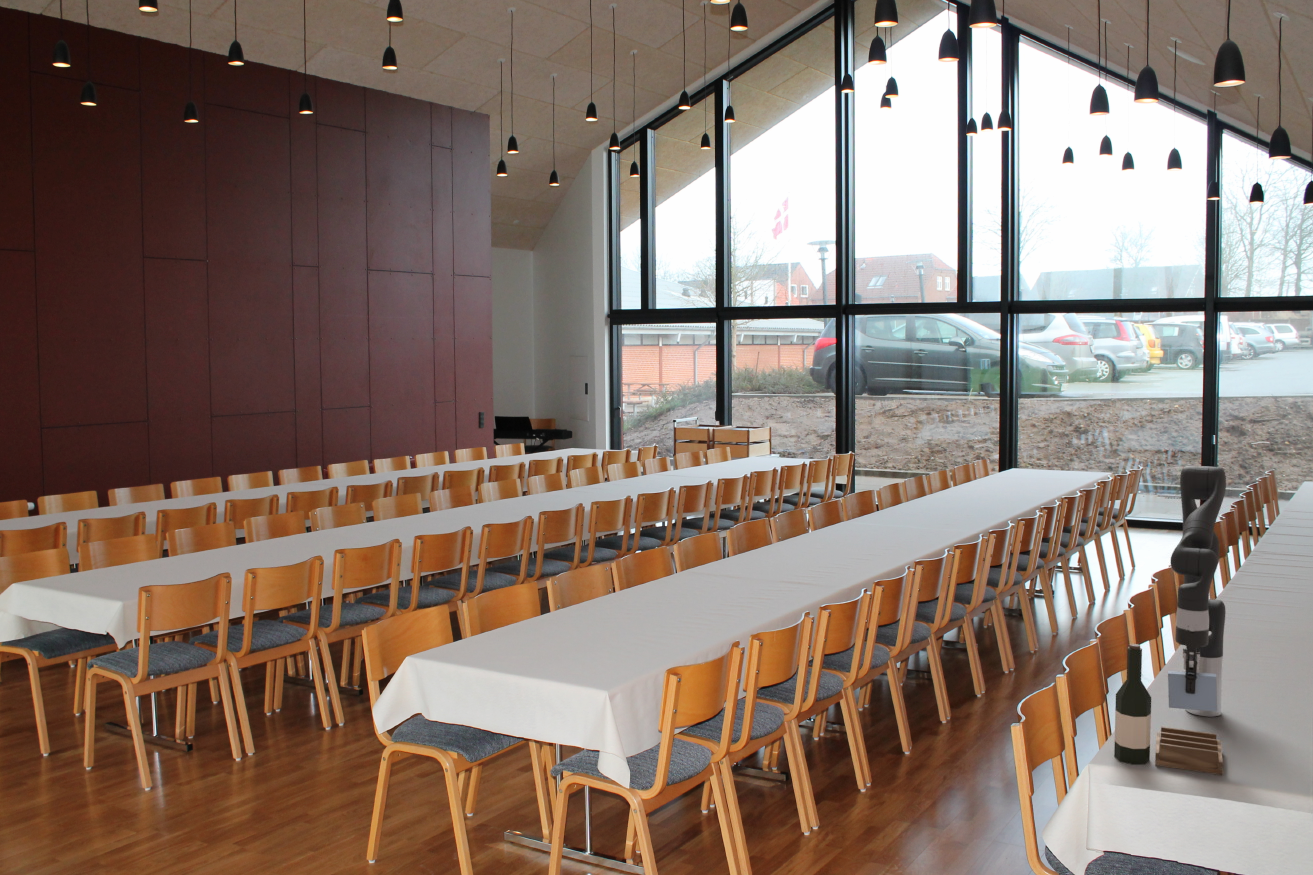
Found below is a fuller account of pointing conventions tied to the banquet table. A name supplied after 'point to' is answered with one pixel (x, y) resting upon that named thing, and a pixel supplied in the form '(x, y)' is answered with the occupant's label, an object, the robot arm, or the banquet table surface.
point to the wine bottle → (1133, 714)
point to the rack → (1189, 750)
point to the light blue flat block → (1199, 701)
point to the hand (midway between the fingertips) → (1190, 691)
